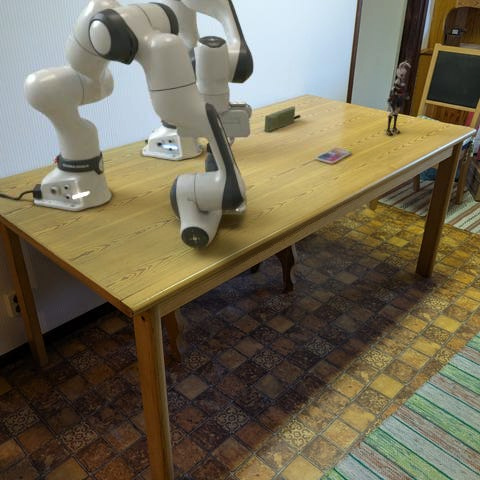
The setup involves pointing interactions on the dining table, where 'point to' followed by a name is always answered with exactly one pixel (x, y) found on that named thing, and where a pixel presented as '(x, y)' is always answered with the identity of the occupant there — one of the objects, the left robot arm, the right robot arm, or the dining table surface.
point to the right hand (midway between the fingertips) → (213, 151)
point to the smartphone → (333, 155)
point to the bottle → (210, 163)
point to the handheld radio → (280, 119)
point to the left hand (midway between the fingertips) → (214, 189)
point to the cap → (209, 148)
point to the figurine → (397, 97)
